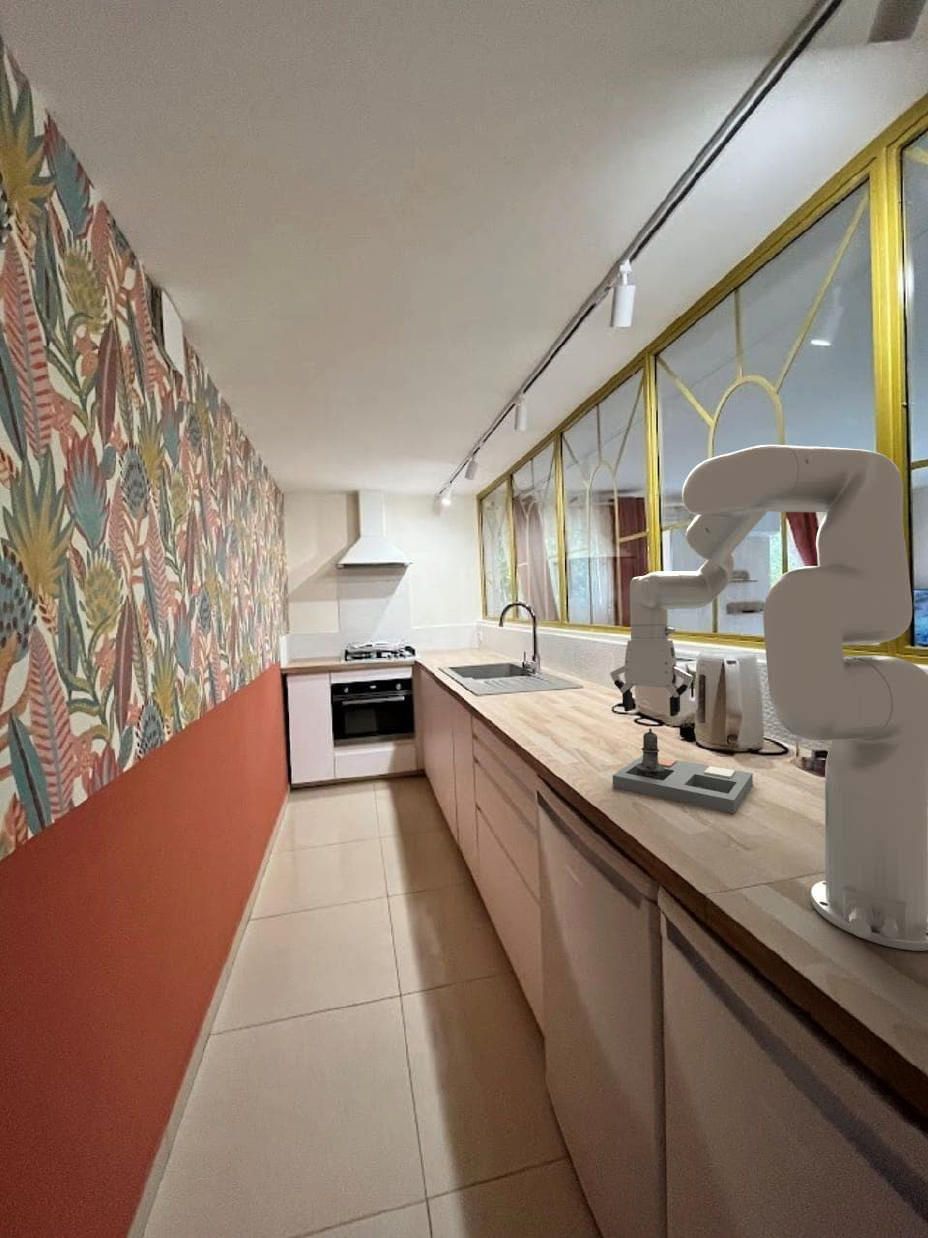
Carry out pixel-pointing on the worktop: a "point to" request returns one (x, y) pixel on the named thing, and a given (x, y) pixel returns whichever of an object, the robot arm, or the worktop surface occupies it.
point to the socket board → (689, 784)
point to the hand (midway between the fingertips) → (650, 713)
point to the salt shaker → (650, 758)
